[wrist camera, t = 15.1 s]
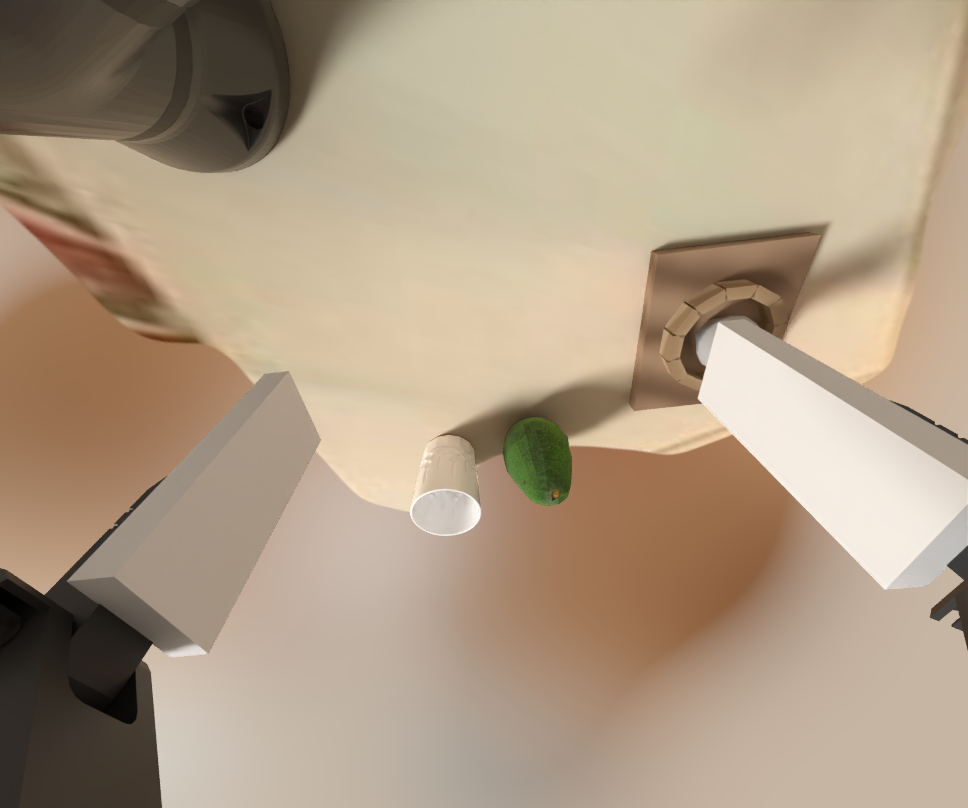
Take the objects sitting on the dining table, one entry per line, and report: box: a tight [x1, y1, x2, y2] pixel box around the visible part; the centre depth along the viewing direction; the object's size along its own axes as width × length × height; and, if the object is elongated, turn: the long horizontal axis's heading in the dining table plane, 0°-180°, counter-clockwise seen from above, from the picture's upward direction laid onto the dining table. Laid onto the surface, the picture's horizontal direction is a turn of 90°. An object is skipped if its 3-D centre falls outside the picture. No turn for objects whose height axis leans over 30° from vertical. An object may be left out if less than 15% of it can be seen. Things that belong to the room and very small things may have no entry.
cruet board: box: [629, 232, 821, 411], centre depth 38 cm, size 18×15×4 cm
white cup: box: [410, 435, 481, 536], centre depth 44 cm, size 8×8×10 cm
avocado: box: [503, 417, 572, 506], centre depth 41 cm, size 8×8×12 cm
